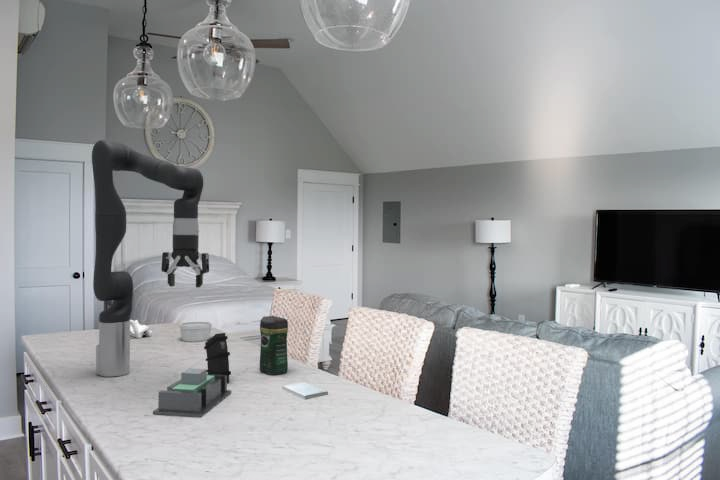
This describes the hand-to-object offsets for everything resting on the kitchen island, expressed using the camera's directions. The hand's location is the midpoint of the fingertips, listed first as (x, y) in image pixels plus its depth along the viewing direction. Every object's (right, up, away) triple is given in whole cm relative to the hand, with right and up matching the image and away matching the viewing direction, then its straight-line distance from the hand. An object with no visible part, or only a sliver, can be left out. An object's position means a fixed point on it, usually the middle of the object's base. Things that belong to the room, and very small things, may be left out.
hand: (185, 286), depth 169 cm
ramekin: (-17, -29, +69) cm, 76 cm away
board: (+8, -27, -17) cm, 32 cm away
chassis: (+8, -30, -17) cm, 36 cm away
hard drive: (+37, -31, -5) cm, 49 cm away
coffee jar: (+24, -30, +17) cm, 42 cm away
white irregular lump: (-44, -28, +73) cm, 90 cm away
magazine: (+8, -30, +8) cm, 32 cm away
